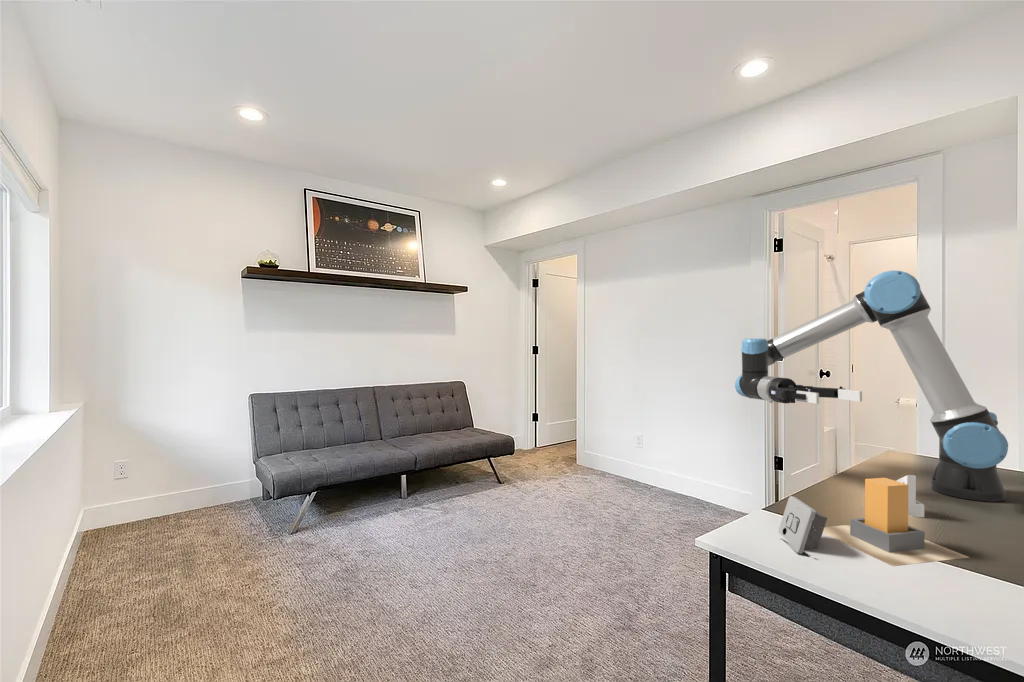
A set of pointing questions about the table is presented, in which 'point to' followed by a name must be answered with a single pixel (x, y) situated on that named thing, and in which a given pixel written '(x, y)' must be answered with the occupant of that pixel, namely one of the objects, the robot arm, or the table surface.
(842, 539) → the mounting board
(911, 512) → the white wedge bracket
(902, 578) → the table surface
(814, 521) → the electrical switch
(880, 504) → the connector plug
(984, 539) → the table surface
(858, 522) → the socket cup
